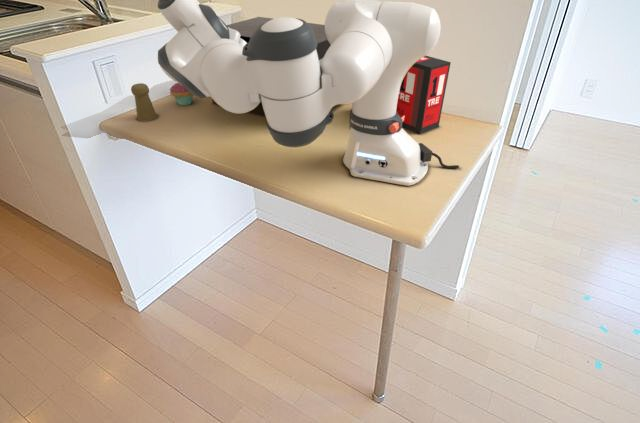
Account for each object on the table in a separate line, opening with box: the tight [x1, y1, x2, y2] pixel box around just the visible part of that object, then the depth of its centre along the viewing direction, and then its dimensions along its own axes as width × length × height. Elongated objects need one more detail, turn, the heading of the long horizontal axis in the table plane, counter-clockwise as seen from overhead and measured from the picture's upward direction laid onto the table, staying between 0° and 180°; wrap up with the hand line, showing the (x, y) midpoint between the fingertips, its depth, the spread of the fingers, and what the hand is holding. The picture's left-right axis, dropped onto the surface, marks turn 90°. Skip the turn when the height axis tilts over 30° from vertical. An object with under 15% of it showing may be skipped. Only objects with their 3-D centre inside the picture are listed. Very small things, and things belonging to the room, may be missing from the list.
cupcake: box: [169, 82, 194, 106], centre depth 140 cm, size 9×8×12 cm
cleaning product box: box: [396, 55, 452, 135], centre depth 125 cm, size 16×9×20 cm, turn 39°
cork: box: [130, 82, 158, 122], centre depth 130 cm, size 6×6×11 cm
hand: (236, 66), depth 120 cm, fingers closed
